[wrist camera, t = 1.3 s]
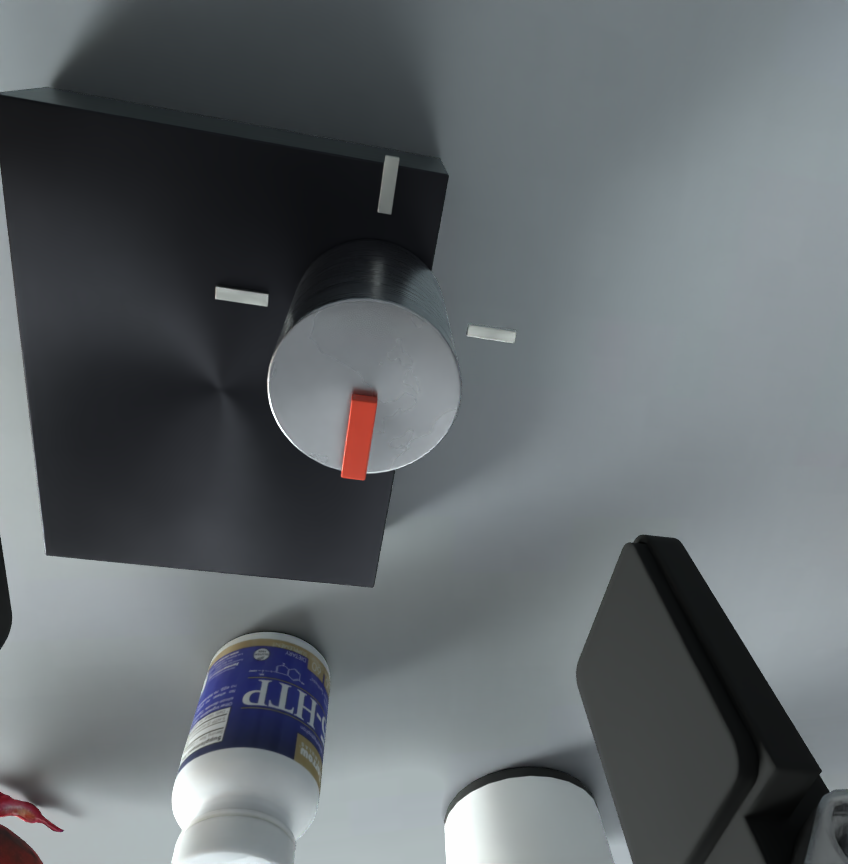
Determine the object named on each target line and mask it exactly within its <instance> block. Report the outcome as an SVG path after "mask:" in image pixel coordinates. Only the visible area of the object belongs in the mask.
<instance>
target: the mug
mask: <svg viewBox="0 0 848 864" xmlns="http://www.w3.org/2000/svg"><path fill="white" fill-rule="evenodd" d="M444 823H445V843H446V862H447V864H614V860H613V857H612V854H611V850H610V847H609V844H608V841H607V837H606V834H605V831H604V827H603V824H602V821H601V818H600V814H599V811H598V808H597V804H596V802H595V800H594V797H593V795H592V793H591V792H590V791H589V790H588V789H587V788H586V787H585V786H584V785H583V784H582V783H581V782H580V781H579V780H578V779H576V778H574V777H572V776H570V775H568V774H566V773H564V772H560V771H556V770H552V769H548V768H534V767H524V768H515V769H507V770H503V771H499V772H496V773H492V774H489V775H486V776H484V777H482V778H480V779H478V780H476V781H474V782H472V783H470V784H469V785H468V786H467V787H465V788H464V789H463V790H461V791H460V792H459V793H458V794H457V796H456V797H455V798H454V800H453V801H452V802H451V804H450V805H449V807H448V810H447V813H446V817H445V820H444Z"/></svg>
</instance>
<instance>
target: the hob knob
mask: <svg viewBox="0 0 848 864" xmlns="http://www.w3.org/2000/svg"><path fill="white" fill-rule="evenodd" d="M267 392H268V399H269V403H270V407H271V410H272V413H273V415H274V417H275V420H276V422H277V424H278V425H279V427H280V428H281V430H282V432H283V433H284V434H285V436H286V437H287V438H288V439H289V440H290V442H291V443H292V444H293V445H295V446H296V447H297V448H298V449H299V450H300V451H301V452H303V453H304V454H305V455H307V456H308V457H310V458H311V459H313V460H315V461H317V462H319V463H321V464H323V465H325V466H328V467H330V468H334V469H337V470H340V471H341V477H342V478H348V479H357V480H365V479H366V474H369V473H381V472H387V471H392V470H395V469H399V468H402V467H404V466H407V465H409V464H411V463H413V462H415V461H417V460H419V459H420V458H422V457H423V456H425V455H426V454H428V453H429V452H430V451H431V450H432V449H434V448H435V447H436V446H437V445H438V444H439V443H440V441H441V440H442V439H443V438H444V437H445V436H446V434H447V433H448V431H449V429H450V428H451V426H452V425H453V422H454V420H455V418H456V416H457V413H458V409H459V406H460V401H461V395H462V380H461V373H460V368H459V363H458V359H457V355H456V350H455V346H454V342H453V338H452V333H451V329H450V325H449V320H448V316H447V312H446V308H445V303H444V299H443V295H442V292H441V289H440V286H439V284H438V282H437V280H436V278H435V277H434V275H433V273H432V272H431V271H430V269H429V268H428V267H427V266H426V264H425V263H424V262H423V261H421V260H420V259H419V258H418V257H417V256H416V255H414V254H413V253H411V252H410V251H408V250H406V249H405V248H403V247H401V246H398V245H396V244H393V243H390V242H386V241H381V240H372V239H364V240H355V241H349V242H346V243H343V244H339V245H337V246H335V247H333V248H331V249H329V250H328V251H326V252H325V253H323V254H322V255H320V256H319V257H318V258H317V259H316V260H315V261H314V262H313V263H312V264H311V265H310V266H309V267H308V269H307V270H306V272H305V273H304V275H303V276H302V278H301V280H300V282H299V285H298V287H297V290H296V293H295V295H294V298H293V301H292V303H291V306H290V309H289V311H288V314H287V317H286V320H285V322H284V325H283V328H282V330H281V333H280V336H279V339H278V341H277V344H276V347H275V349H274V352H273V355H272V358H271V361H270V365H269V369H268V376H267Z"/></svg>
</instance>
